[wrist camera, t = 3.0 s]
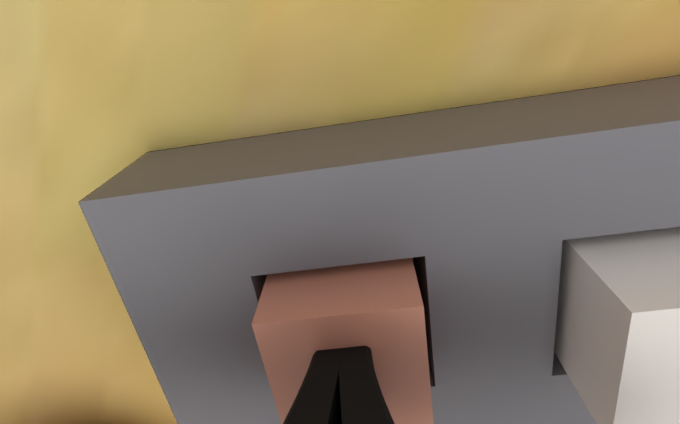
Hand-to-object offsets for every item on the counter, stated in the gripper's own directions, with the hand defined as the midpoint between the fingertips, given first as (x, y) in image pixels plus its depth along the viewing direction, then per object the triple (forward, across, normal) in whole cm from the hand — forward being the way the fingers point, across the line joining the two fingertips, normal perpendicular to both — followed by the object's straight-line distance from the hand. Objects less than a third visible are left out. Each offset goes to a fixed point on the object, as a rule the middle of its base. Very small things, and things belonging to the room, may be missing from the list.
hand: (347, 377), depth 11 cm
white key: (+3, -8, 0) cm, 9 cm away
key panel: (+6, -4, 0) cm, 7 cm away
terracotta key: (+4, 0, 0) cm, 4 cm away
